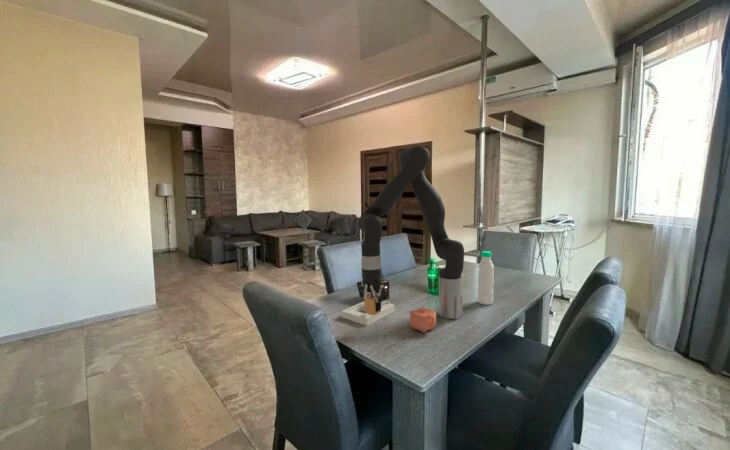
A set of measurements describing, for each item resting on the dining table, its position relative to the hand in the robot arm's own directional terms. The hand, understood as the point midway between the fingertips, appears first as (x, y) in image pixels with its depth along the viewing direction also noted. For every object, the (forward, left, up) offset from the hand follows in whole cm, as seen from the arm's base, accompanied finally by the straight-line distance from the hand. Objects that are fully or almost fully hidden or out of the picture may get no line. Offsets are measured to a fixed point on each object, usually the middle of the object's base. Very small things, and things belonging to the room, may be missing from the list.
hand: (372, 309), depth 125 cm
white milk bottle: (-24, -58, -9) cm, 63 cm away
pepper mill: (+25, -33, -9) cm, 42 cm away
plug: (0, 0, -2) cm, 2 cm away
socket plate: (+12, -13, -9) cm, 20 cm away
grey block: (+12, -18, -6) cm, 23 cm away
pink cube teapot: (-14, -14, -9) cm, 22 cm away
